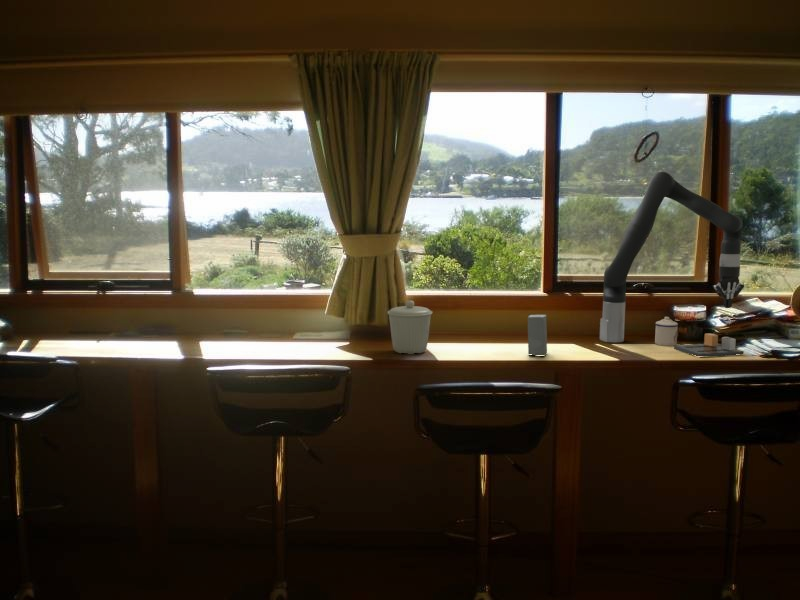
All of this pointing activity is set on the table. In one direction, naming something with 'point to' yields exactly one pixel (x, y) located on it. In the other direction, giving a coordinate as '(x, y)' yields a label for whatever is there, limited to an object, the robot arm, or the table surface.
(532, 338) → the skincare box
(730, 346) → the fader silver
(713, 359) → the table surface
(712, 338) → the fader orange
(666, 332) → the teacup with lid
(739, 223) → the robot arm
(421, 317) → the canister
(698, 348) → the console
